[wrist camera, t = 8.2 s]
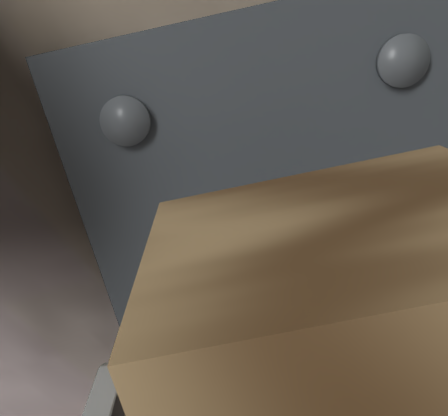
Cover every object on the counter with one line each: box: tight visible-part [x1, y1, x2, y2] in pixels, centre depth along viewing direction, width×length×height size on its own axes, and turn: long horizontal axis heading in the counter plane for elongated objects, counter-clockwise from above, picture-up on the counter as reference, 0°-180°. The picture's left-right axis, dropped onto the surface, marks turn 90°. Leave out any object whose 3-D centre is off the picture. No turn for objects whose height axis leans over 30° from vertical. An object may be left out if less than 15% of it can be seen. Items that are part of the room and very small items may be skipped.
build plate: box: [25, 0, 448, 326], centre depth 15 cm, size 14×14×1 cm
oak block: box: [107, 145, 448, 416], centre depth 8 cm, size 6×6×5 cm
